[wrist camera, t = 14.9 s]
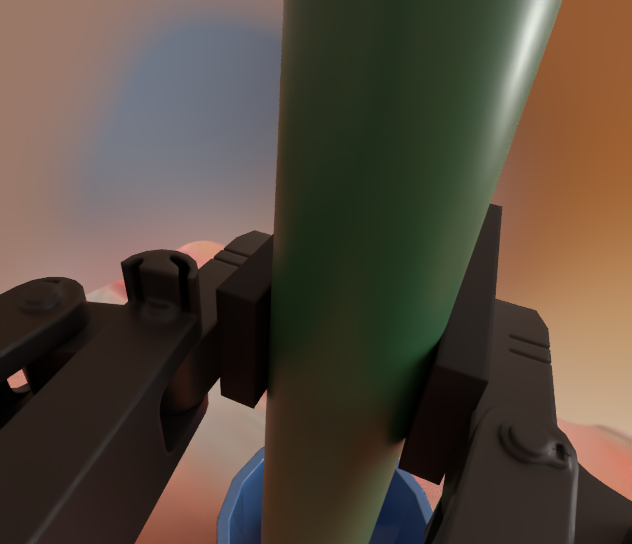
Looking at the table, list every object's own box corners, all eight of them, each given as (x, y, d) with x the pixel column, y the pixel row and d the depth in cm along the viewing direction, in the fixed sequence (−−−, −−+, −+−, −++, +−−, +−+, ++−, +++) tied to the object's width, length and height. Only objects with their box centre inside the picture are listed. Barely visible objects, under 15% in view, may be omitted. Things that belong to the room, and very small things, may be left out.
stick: (326, 469, 14) (430, -72, 6) (385, 556, 12) (652, -77, 4) (243, 518, 13) (238, -114, 5) (294, 626, 11) (442, -152, 3)
